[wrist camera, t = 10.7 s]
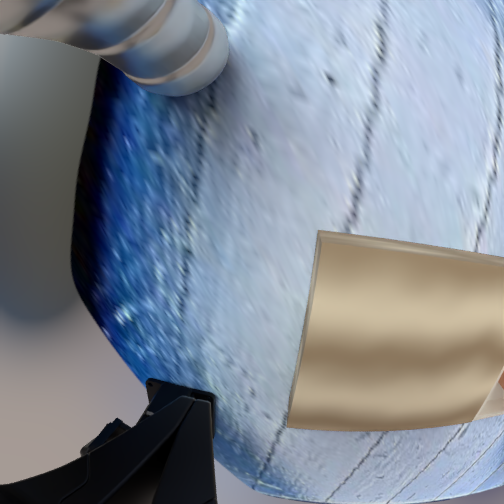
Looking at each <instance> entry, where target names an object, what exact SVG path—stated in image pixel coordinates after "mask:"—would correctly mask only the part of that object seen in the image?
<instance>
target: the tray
mask: <svg viewBox="0 0 504 504" xmlns="http://www.w3.org/2000/svg"><path fill="white" fill-rule="evenodd" d="M503 371H504V366H503V368H502V370H501V372H500V374H499V376H498V378H497V380H496V382H495V384H494V386H493V387H492V389H491V391H490V393H489V394H488V396H487V398H486V400H485V401H484V403H483V405H482V406H481V408H480V410H479V411H478V413H477V414H476V416H475V417H474V419H473V420H472V421H474V420H479V419H484V418H489V417H493V416H498V415H502V414H504V390H503V388H502V387H501V385H500V384H499V383H498V381H499V379H500V377H501V375H502V373H503Z"/></svg>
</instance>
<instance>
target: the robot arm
mask: <svg viewBox="0 0 504 504" xmlns="http://www.w3.org/2000/svg"><path fill="white" fill-rule="evenodd" d="M151 383H152V384H151ZM146 389H147V394H148V399H149V405H148V406H147V408H146V409H145V411H144V413H143V414H142V416H141V418H140V419H139V421H138V422H137V424H136V425H135V426H134V427H132V428H131V427H129V426H128V425H126V424H125V423H123V421H121V420H120V419H118V418H116V419H115V420H114V421H113V423H111V422H110V423H109V424H107V425H106V426H105V427H104V429H103V430H102V431H101V433H100V434H99V435H98V436H97V437H96V438H95V439H93V440H92V441H91V442H89V443H88V444H87V445H85V446H84V447H83V448H82V449H81V451H80V454H81V457H80V458H78V459H76V460H74V461H72V462H70V463H68V464H66V465H64V466H61V467H59V468H57V469H54V470H51V471H49V472H46V473H43V474H40V475H37V476H34V477H31V478H28V479H24V480H21V481H18V482H14V483H10V484H3V485H0V504H218V503H217V494H216V482H215V469H214V454H213V438H214V436H215V396H214V395H213V394H212V393H209V392H205V391H200V390H196V389H191V388H187V387H183V386H179V385H175V384H171V383H167V382H164V381H160V380H156V379H153V378H148V379H147V381H146ZM208 397H209V398H208Z"/></svg>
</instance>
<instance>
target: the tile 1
mask: <svg viewBox="0 0 504 504" xmlns="http://www.w3.org/2000/svg"><path fill="white" fill-rule="evenodd" d="M498 383H499V384H500V385H501V387H502V388H503V390H504V371H503V373H502V375H501V377H500V379H499V381H498Z"/></svg>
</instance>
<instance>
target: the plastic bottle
mask: <svg viewBox="0 0 504 504" xmlns="http://www.w3.org/2000/svg"><path fill="white" fill-rule="evenodd" d="M0 34H10V35H17V36H25V37H33V38H40V39H47V40H53V41H58V42H61V43H65V44H68V45H71V46H74V47H77V48H80V49H83V50H86V51H88V52H91V53H94V54H96V55H98V56H100V57H101V58H103V59H105V60H106V61H108V62H109V63H111V64H112V65H114V66H116V67H117V68H119V69H120V70H122V71H123V72H124V73H125V74H126V75H127V77H128V78H130V79H131V80H132V81H134V82H135V83H136V84H137V85H139V86H140V87H141V88H143V89H144V90H146V91H148V92H151V93H154V94H159V95H165V96H185V95H189V94H192V93H195V92H198V91H200V90H202V89H204V88H205V87H207V86H208V85H209V84H211V83H212V82H213V81H214V80H215V79H216V78H217V77H218V76H219V75H220V73H221V72H222V71H223V69H224V67H225V65H226V63H227V60H228V56H229V43H228V37H227V33H226V30H225V27H224V26H223V24H222V23H221V21H220V20H219V19H218V18H217V17H216V16H215V15H214V14H213V13H212V12H211V11H210V10H208V9H207V8H206V7H205V6H203V5H202V4H200V3H199V2H198V1H197V0H0Z"/></svg>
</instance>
